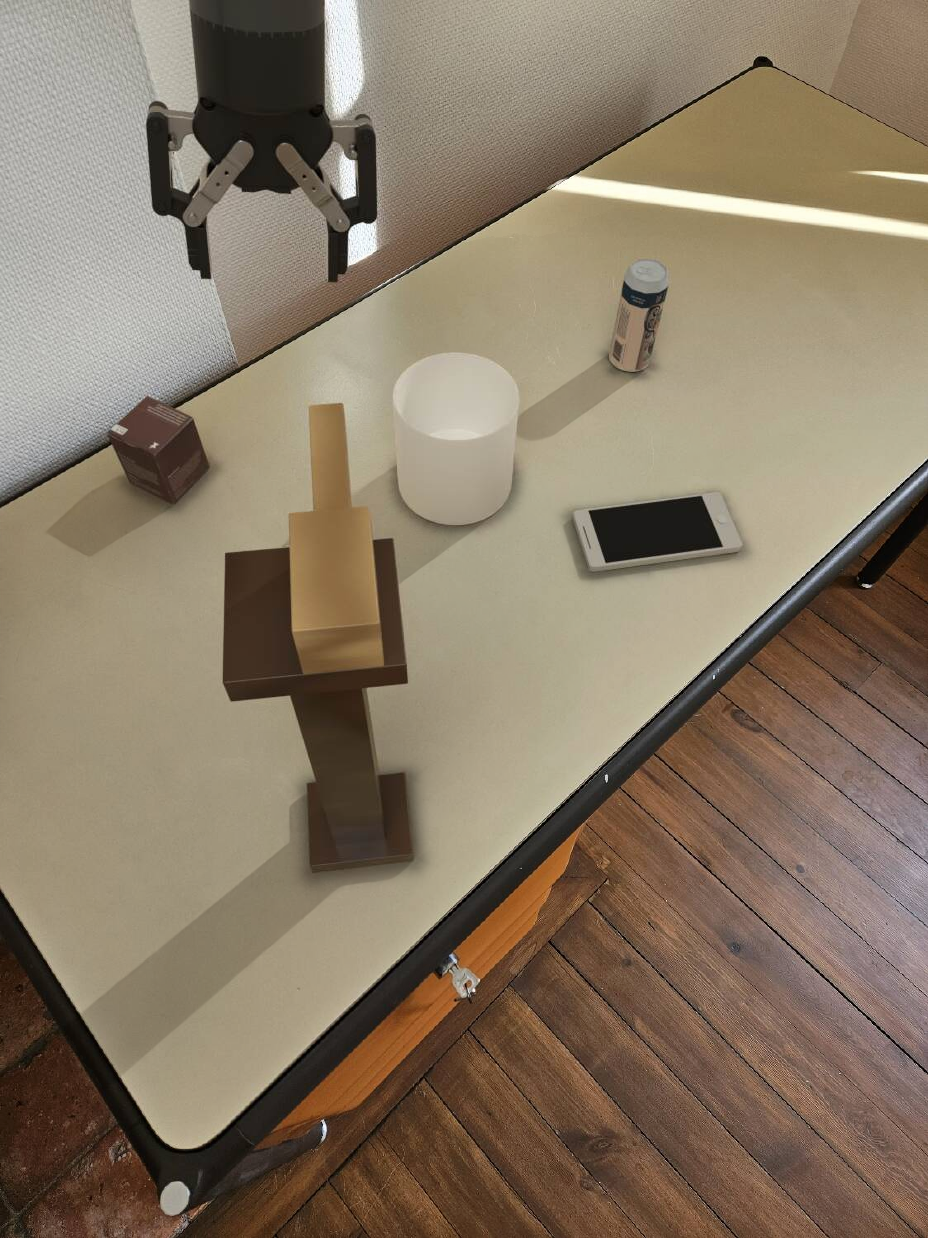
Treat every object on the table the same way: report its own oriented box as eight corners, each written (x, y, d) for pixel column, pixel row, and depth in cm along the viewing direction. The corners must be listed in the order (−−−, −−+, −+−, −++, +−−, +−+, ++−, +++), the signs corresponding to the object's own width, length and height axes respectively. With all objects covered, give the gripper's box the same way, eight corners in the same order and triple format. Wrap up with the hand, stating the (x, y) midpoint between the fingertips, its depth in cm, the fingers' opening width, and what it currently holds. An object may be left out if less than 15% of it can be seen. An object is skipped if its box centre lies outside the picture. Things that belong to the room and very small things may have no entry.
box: (212, 468, 94) (195, 417, 88) (173, 507, 91) (154, 456, 85) (166, 445, 95) (147, 393, 89) (127, 483, 93) (104, 431, 86)
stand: (306, 880, 71) (222, 683, 44) (302, 784, 75) (224, 552, 48) (420, 866, 72) (406, 664, 45) (411, 773, 76) (393, 537, 49)
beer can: (648, 377, 102) (671, 287, 92) (606, 372, 103) (624, 281, 93) (650, 349, 105) (672, 258, 95) (609, 344, 105) (627, 252, 95)
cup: (535, 485, 93) (546, 398, 83) (451, 545, 89) (452, 461, 79) (457, 423, 98) (459, 334, 88) (374, 478, 94) (366, 390, 83)
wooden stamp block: (302, 675, 44) (291, 631, 41) (294, 424, 53) (284, 372, 50) (384, 666, 45) (379, 623, 41) (362, 419, 54) (357, 367, 50)
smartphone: (741, 551, 89) (744, 545, 88) (589, 572, 87) (590, 567, 87) (717, 496, 93) (720, 490, 92) (571, 516, 91) (572, 509, 90)
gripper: (119, 14, 47) (160, 301, 59) (390, 35, 50) (378, 305, 62) (129, -27, 52) (166, 246, 64) (376, -6, 55) (367, 252, 67)
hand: (270, 275), depth 63 cm, fingers open, 8 cm apart
